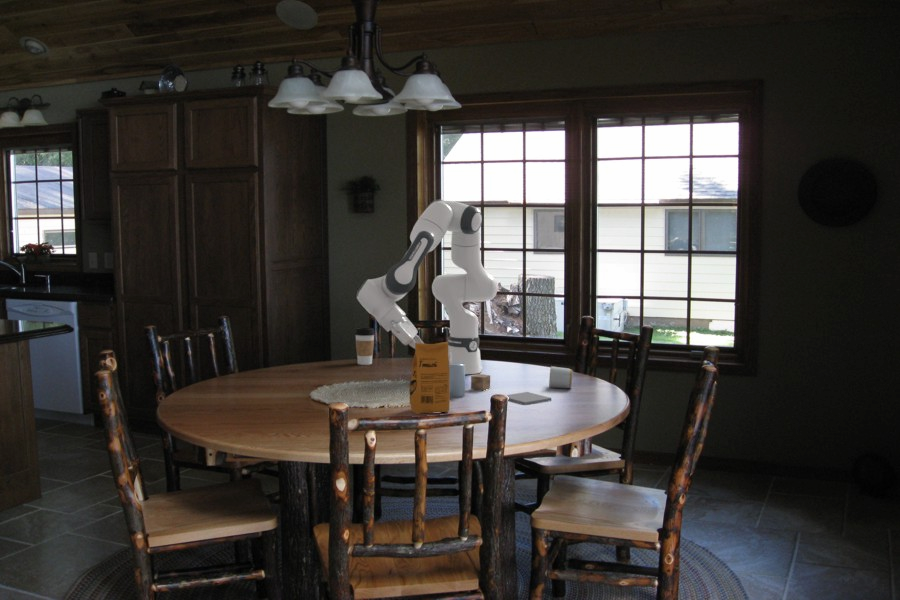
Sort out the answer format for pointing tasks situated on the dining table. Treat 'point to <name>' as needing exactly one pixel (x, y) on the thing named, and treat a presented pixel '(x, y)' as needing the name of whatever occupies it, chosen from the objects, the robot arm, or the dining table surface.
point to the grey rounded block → (560, 377)
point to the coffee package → (430, 379)
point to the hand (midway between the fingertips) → (421, 348)
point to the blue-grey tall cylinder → (457, 380)
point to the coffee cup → (364, 345)
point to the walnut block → (480, 382)
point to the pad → (527, 398)
